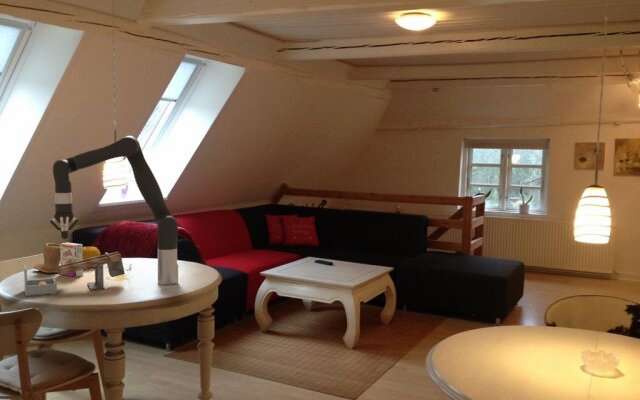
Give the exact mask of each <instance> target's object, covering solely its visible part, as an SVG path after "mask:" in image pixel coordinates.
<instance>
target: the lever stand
mask: <svg viewBox="0 0 640 400" xmlns="http://www.w3.org/2000/svg"><path fill="white" fill-rule="evenodd" d="M87 287H88V288H89V290H90V291H91V292H93V291H103V290H106V288H105V283H104V265H103V263H99V264H98V266H95V267H94V281H93V282H92V281H90V282H87Z"/></svg>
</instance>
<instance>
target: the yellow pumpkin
mask: <svg viewBox="0 0 640 400" xmlns="http://www.w3.org/2000/svg"><path fill="white" fill-rule="evenodd" d="M97 256H101V251H100V250H99V248H98V247H96V246H83V260H84V259H89V258H93V257H97ZM92 268H94V267H91V268H90V269H92Z"/></svg>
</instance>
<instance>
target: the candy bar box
mask: <svg viewBox="0 0 640 400" xmlns="http://www.w3.org/2000/svg"><path fill="white" fill-rule="evenodd" d="M59 245H60V263H59V264H60V265H63V264H67V263H72V262H76V261H80V260H83V247H84V246H83V244H82V243H73V242H62V243H60V244H59ZM62 276H67V277H71V278H73V277H74V278H79V277H82V276H84V269H83V270H79V271H75V272H71V273H67V274H62Z"/></svg>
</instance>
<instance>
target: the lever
mask: <svg viewBox="0 0 640 400" xmlns="http://www.w3.org/2000/svg"><path fill="white" fill-rule="evenodd" d="M99 263H103V266H104V265H107V269H108V275H109V276H110V277H111V278H115V277H118V276H119V277H120V276H122V275H125V274H126V273H125V268H124V263H123V258H122V254H121V253H120V252H119V251H115V252H111V253H108V252H104V254H100V256H97V257H93V258H89V259H84V260H80V261H76V262H72V263H67V264H63V265H61V264H59V266H56V268H57V272H56V273H57V274H58V276H61V275H62V274H67V273H71V272H75V271H79V270H83V271H84V270H86V269H92V268H91V267H93V268H95V266H98V264H99ZM62 276H63V275H62Z"/></svg>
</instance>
